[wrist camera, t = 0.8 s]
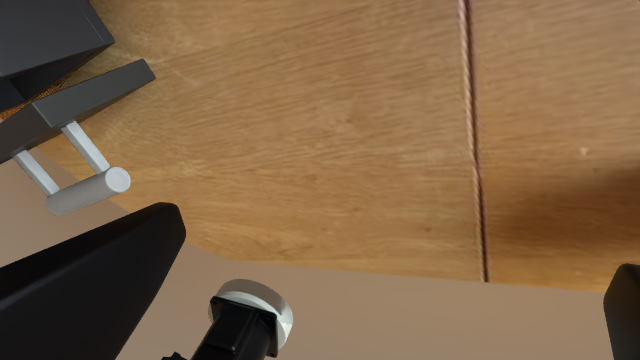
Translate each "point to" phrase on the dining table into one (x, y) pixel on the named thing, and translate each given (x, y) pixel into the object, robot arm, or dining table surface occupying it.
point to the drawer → (59, 92)
